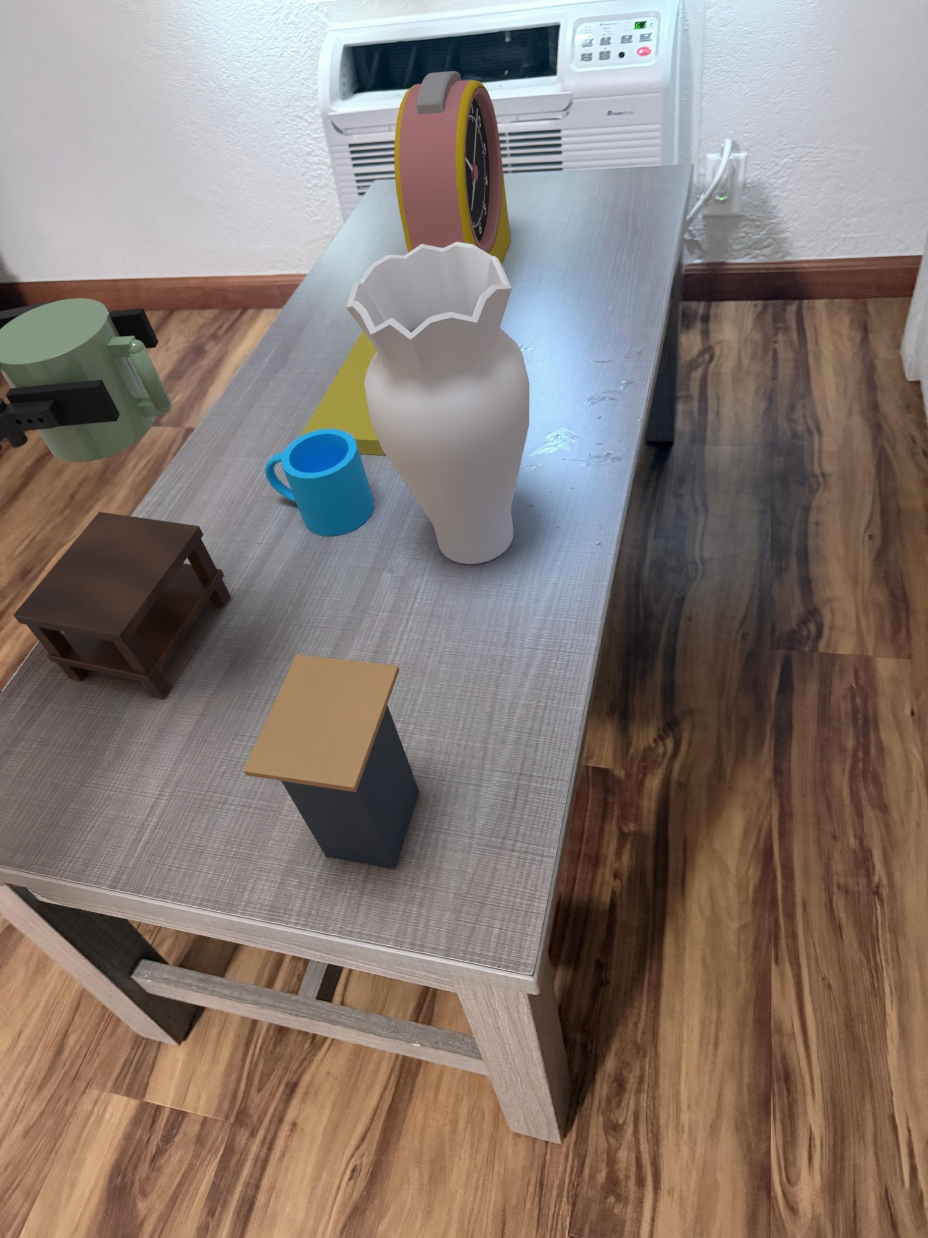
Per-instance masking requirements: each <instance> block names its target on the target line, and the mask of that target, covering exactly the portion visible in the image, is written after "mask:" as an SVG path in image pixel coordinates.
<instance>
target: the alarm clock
mask: <svg viewBox="0 0 928 1238" xmlns="http://www.w3.org/2000/svg"><path fill="white" fill-rule="evenodd" d="M494 107H495V106H494V103H493V101H492V98H491V96H490V93H489V90H488V89H487V88H486V86H485V85H484V83H482V82H481V81H479V80H475V79H465V80H462V78H461V73H459V72H458V71H456V70H449V71H437V72H430V73H427V74H426V75H425V76H424V78H423V79H422V82H421V83H417V84H414V85H412V86H411V87H410V88H408V89H407V91H406V92H405V93H404V95H403V98H402V100H401V102H400V104H399V108H398V114H397V117H396V123H395V133H394V145H393V146H394V149H393V150H394V151H393V152H394V155H393V156H394V157H393V160H394V161H393V167H394V178H395V179H394V181H395V192H396V198H397V203H398V210H399V214H400V220H401V223H402V224H401V225H402V230H403V235H404V240H405V245H406V250H407V253H409V252H410V251H412V250H413V249H415V248H416V247H418V246H419V245H421V244H424V245H429V246H434V247H439V248H445V247H447V246H449V245H451V244H453V243H455V242H461V243H467V244H473V245H475V246H476V247H478V248H480V249H481V250H483V251H485V252H486V253H488V254H490V255H491V256H495V257H496V258H498V259H499V261H500V263H501V265H502V266H503V262H504V260H505V257H506V254H507V253H508V250H509V247H510V245H511V242H512V239H511V231H510V223H509V222H510V221H509V213H508V204H507V203H508V202H507V196H506V195H507V194H506V185H505V177H504V167H503V159H502V150H501V140H500V132H499V126H498V120H497V117H496V112H495V108H494Z"/></svg>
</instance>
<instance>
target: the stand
mask: <svg viewBox="0 0 928 1238" xmlns="http://www.w3.org/2000/svg"><path fill="white" fill-rule="evenodd" d="M399 673H400V667H399V665H398V664H397V665H396V664H387V663H380V662H379V663H378V662H370V661H362V660H361V661H360V660H351V659H344V658H343V659H342V658H332V657H324V656H323V657H322V656H315V655H306V654H295V656H294V658H293V660H292V663H291V665H290V667H289V669H288V672H287V674H286V676H285V678H284V680H283V683H282V685H281V687H280V689H279V691H278V693H277V695H276V698H275V700H274V702H273V705H272V707H271V708H270V711H269V713H268V715H267V718H266V719H265V722H264V724H263V726H262V729H261V731H260V733H259V735H258V737H257V740H256V742H255V744H254V747H253V748H252V751H251V752H250V755H249V757H248V759H247V762H246V763H245V766H244V768H243V773H244V775H245V776H247V777H254V778H260V779H267V780H272V781H273V780H274V781H280V782H281V784H282V785H283V787H284V789H285V790H286V792H287V793H288V795H289V797H290V799H291V801H292V802H293V804H294V806H295V807H296V809H297V811H298V813H299V815H301V817H302V819H303V821H304V822H305V824H306V826H307V828H308V829H309V831H310V832H311V834H312V836H313V838H314V839H315V841H316V843H317V845H318V846H319V848H320V849H321V851H322V854H323V855H324V856H325V858H330V859H334V860H335V859H336V860H340V861H347V862H352V863H353V862H354V863H359V864H364V865H369V866H377V867H381V868H388V869H392V870H393V869H394V870H396V869H397V866H398V863H399V860H400V857H401V853H402V850H403V846H404V843H405V840H406V837H407V834H408V830H409V827H410V825H411V824H410V823H411V821H412V817H413V814H414V810H415V808H416V805H417V801H418V798H419V795H420V789H419V786H418V783H417V780H416V778H415V775H414V773H413V770H412V768H411V764H410V762H409V759H408V757H407V753H406V751H405V749H404V745H403V744H402V740H401V738H400V735H399V731H398V729H397V727H396V724H395V721H394V718H393V715H392V713H391V710H390V707H389V705H388V704H389V701H390V698H391V696H392V693H393V690H394V688H395V685H396V682H397V679H398V676H399Z"/></svg>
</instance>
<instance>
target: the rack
mask: <svg viewBox="0 0 928 1238" xmlns="http://www.w3.org/2000/svg"><path fill="white" fill-rule="evenodd" d="M203 537H204V533H203V531H202V529H201V527H200V525H194V524H188V523H181V522H173V521H166V520H161V519H152V518H145V517H138V516H131V515H124V514H117V513H112V512H111V513H110V512H104V511H98V513H97V514H96V515H95V516H94V517H93V518H92V520H91V521H90V522H89V523H88V525H87V526H86V527H85V528H84V529H83V531H82V532H81V533H80V534H79V535H78V536H77V538H76V539H75V540H73V543H72V544H71V545H70V546H69V547H68V549H66V551H65V552H64V553H63V554H62V556H61V557H60V558H59V559H58V561H56V563H55V564H54V565H53V566H52V567H51V569H50V570H49V571H48V572H47V573H46V574H45V576H44V577H43V578H42V579H41V581H40V582H39V583H38V585H36V587H35V588H34V589H33V590H32V592H31V593H30V594H29V595H28V596H27V597H26V599H25V600H24V601H23V602H22V603H21V605H20V606H19V607H18V608H17V609H16V611H15V612H14V613H13V614H12V615H13V617H14V618H15V620H16V621H17V622H18V623H19V624H22V625H25V626H26V627H27V628H28V629H29V630H30V632H31V633H32V634H33V635H34V636H35V638H36V639H37V640H38V642H40V644H41V645H42V647H43V648H44V649H45V650H46V651H47V654H46V655H45V657H47V659H48V660H49V661H50V662H51V663H55V664H57V665H58V666H59V668H60V669H61V670H62V671H63V673H64V674H65V675H66V676H67V678H68V679H69V680H75V681H77V682H78V681H79V682H82V681H83V679H84V678H85V677H86V675H87V674H88V673H89V671H92V672H97V673H103V674H107V675H112V676H116V677H121V678H124V679H125V678H126V679H130V680H135V681H139V682H140V683H142V685H143V686H144V688H145V689H146V690H147V692H148V693H149V695H150V697H152V698H156V699H161V700H165V699H166V698H167V697H168V695H169V693H170V692H171V690H172V688H173V686H172V685H171V684H170V682H169V680H168V679H167V678H166V676H165V675H164V673H163V672H162V669H163V668H164V667H165V665H166V664H167V662H168V661H169V659H170V658H171V656H173V655H172V654H173V653H174V652H175V650H176V649H177V648H178V646H179V645H180V643H181V641H182V640H183V639H184V637H185V636H186V634H187V632H188V631H189V630H190V628H191V626H192V624H194V622H195V620H196V619H197V617H198V616H199V614H200V613H201V611H202V610H203V608H204V607H205V605H206V604H207V603H208V601H209V600H210V602H211V604H212V605H213V606H216V607H217V606H218V607H222V608H226V606H227V605H228V603H229V601H230V600H231V598H232V595H231V594H230V592H229V590H228V588H227V586H226V584H225V582H224V580H223V578H224V577H225V574H224V572H223V570H222V569H221V568H217V567H216V565H215V562H214V560H213V558H212V557H211V554H210V553H209V550H208V549H207V547H206V545H205V544H204V541H203V539H202V538H203ZM186 560H187V561H188V562H189V563H185V561H186Z"/></svg>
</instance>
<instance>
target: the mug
mask: <svg viewBox="0 0 928 1238" xmlns="http://www.w3.org/2000/svg"><path fill="white" fill-rule="evenodd" d="M278 463H280V465H281V467H282V470H283V472H284V475H285V477H286V480H287V482H288V485H289V486H287V485H285V483H283V482H282V481H281V480H280V479H279V477H278V475H277V474H276V472H275V467H276V465H277V464H278ZM264 473H265V477H266V480H267V481H268V483H269V484H270V486H271V487H272V488H273V489H274V490H275V491H276V492H277V493H278V494H280V495H281V496H283V497H284V498H286V499H288V500H290V501H292V502H294V503H295V504H296V506H297V508H298V511H299V513H300V516H301V519H302V522H303V523H304V525H305V528H307V529H308V530H309V531H310V532H312V534H317V535H319V536H322V537H323V536H325V537H336V536H342V535H345V534H348V533H351V532H353V531H355V530H357V529H358V528H360V527H361V526H362V525H365V524H366V523H367V521H368V520H369V519H370V517H371V516H372V514H373V512H374V509H375V499H374V497H373V493H372V489H371V486H370V484H369V480H368V478H367V473H366V469H365V467H364V464H363V459H362V456H361V454H360V453H359V450H358V446H357V443H356V441H355V439H354V438H353V436H352V435H350V434H349V433H347V432H345V431H342V430H338V429H322V430H317V431H312V432H310V433H307V434H305V435H302V436H301V435H299V437H297V438H295V439H294V440H292V441H291V442H290V443H289V445H287V446H286V448H285V449H284V451H283V452H279V453H275V454H274V455H273V456H271V457H270V458H269V459H268V460H267V462H266V464H265V467H264Z"/></svg>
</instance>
